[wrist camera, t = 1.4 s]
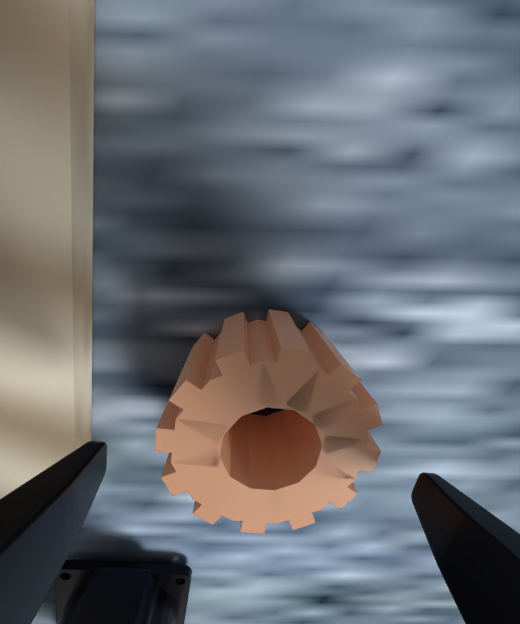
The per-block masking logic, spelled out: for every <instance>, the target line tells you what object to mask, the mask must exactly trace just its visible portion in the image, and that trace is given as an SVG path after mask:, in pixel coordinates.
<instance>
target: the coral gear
mask: <svg viewBox="0 0 520 624" xmlns="http://www.w3.org/2000/svg"><path fill="white" fill-rule="evenodd" d="M360 380H361V379H360V378H359V376H358V375H357V374H356V373H355V372H354V370H353V369H352V368H351V367H350V365H349V364H348V363H347V362H346V360H345V359H344V358H343V357H342V355H341V354H340V353H339V352H338V350H337V349H336V348H335V347H334V345H333V344H332V343H331V342H330V340H329V339H328V338H327V337H326V336H325V334H324V333H323V332H322V331H320V330H319V329H318V328H317V327H315V326H314V325H313V324H312V323H311V322H309V323H308V324H307V325H306V326H305V328H304V329H303V330H302V331H301V330H300V329H299V328H297V327H296V325H295V323H294V321H293V320H292V318H291V316H290V314H289V313H288V312H284V311H278V310H271V309H268V314H267V319H266V321H263V320H254V321H251V322H249V323H248V322H247V319H246V316H245V314H244V311H243V312H241V313H238V314H235V315H232V316H230V317H227V318H224V323H223V328H222V332H221V333H220V334H219V335H218V336H217V337H216V338H215V339H213V338H212V337H210V336H209V335H208V334H206V333H205V332H204V333H203V335H202V336H201V337H200V338H199V339H198V341H197V342H196V343H195V344H194V345H193V347H192V349H191V351H190V353H189V356H188V358H187V360H186V362H185V365H184V367H183V369H182V371H181V374H180V376H179V378H178V380H177V383H176V385H175V387H174V389H173V392H172V394H171V396H170V399H169V401H168V404H167V406H166V408H165V410H164V413H163V415H162V417H161V419H160V422H159V424H158V426H157V429H156V441H155V451H160V452H169V455H168V458H167V461H166V464H165V467H164V470H163V473H162V476H161V478H162V480H163V481H164V483H165V484H166V486H167V488H168V489H169V491H170V493H171V494H172V496H173V495H176V494H179V493H182V492H185V491H188V492H189V494H190V496H191V498H192V499H193V500H195V504H194V510H193V514H194V515H195V516H197V517H199V518H201V519H203V520H205V521H207V522H209V523H211V524H214V523H215V522H216V521H217V520H218V519H219V518H220V517H221V516H222V515H223V516H224V517H226V518H228V519H230V520H234V521H241V528H240V532H246V533H262V534H264V532H265V528H266V524H267V523H281V522H284V521H287V520H289V522H290V524H291V527H292V529H293V530H294V529H297V528H301V527H304V526H307V525H310V524H313V523H315V519H314V515H313V512H315V511H318V510H321V509H323V508H324V507H325V506H326V505H327V504H328V503H329V502H331V503H332V504H334V505H335V506H337V507H339V508H340V509H341V508H342V507H343V506H344V505H345V504H346V503H348V502H349V501H350V500H351V499H352V498H353V497H354V496H356V495H357V491H356V489H355V487H354V485H353V481H354V480H355V479H356V476H357V473H358V471H359V470H362V471H372V472H373V471H374V469H375V466H376V463H377V461H378V458H379V455H380V453H381V451H380V449H379V448H378V446H377V444H376V443H375V441H374V440H373V438H372V436H371V435H370V433H369V432H368V430H369V429H372V428H375V427H378V426H381V425H382V421H381V417H380V414H379V410H378V406H377V403H376V402H375V401H374V399H373V398H372V397H371V396H370V394H369V393H368V392H367V390H366V389H365V388H364V387H363V385H362V384H361V383H360V382H359V381H360ZM267 407H269V408H278V409H283V410H281V411H278V412H275V413H272V414H270V415H267V416H263V415H254V414H250V413H253V412H256V411H258V410H261V409H264V408H267Z"/></svg>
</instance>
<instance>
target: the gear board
mask: <svg viewBox="0 0 520 624" xmlns="http://www.w3.org/2000/svg"><path fill="white" fill-rule="evenodd" d="M94 29H95V0H0V499H1V498H3V497H4V496H6V495H7V494H9V493H10V492H12V491H13V490H15V489H16V488H18V487H19V486H21V485H22V484H24V483H25V482H27V481H29V480H30V479H32V478H33V477H35V476H36V475H38V474H39V473H41V472H42V471H44V470H45V469H47V468H48V467H50V466H51V465H53V464H55V463H56V462H58V461H59V460H61V459H62V458H64V457H65V456H67V455H68V454H70V453H71V452H73V451H74V450H76V449H77V448H79V447H80V446H82V445H84V444H85V443H87V442H89V441H91V420H92V290H93V159H94Z"/></svg>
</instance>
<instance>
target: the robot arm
mask: <svg viewBox="0 0 520 624" xmlns="http://www.w3.org/2000/svg"><path fill="white" fill-rule="evenodd" d="M106 462H107V445H106V443H105V442H99V441H89V442H87V443H85V444H84V445H82V446H80V447H79V448H77V449H76V450H74V451H73V452H71V453H70V454H68V455H67V456H65V457H64V458H62V459H61V460H59V461H58V462H56V463H55V464H53V465H51V466H50V467H48V468H47V469H45V470H44V471H42V472H41V473H39V474H38V475H36V476H35V477H33V478H32V479H30V480H29V481H27V482H25V483H24V484H22V485H21V486H19V487H18V488H16V489H15V490H13V491H12V492H10V493H9V494H7V495H6V496H4V497H3V498H1V499H0V624H31V623H32V621H33V619H34V617H35V615H36V614H37V612H38V610H39V608H40V606H41V604H42V603H43V601H44V599H45V597H46V595H47V593H48V592H49V590H50V588H51V586H52V584H53V582H54V581H55V595H56V617H57V624H184V619H185V613H186V607H187V601H188V594H189V588H190V582H191V575H192V570H191V568H190V567H188V566H185V565H170V564H150V563H129V562H109V561H89V560H66V559H67V557H68V555H69V553H70V551H71V549H72V547H73V545H74V543H75V541H76V538H77V536H78V534H79V532H80V530H81V527H82V525H83V523H84V521H85V518H86V516H87V514H88V511H89V509H90V507H91V505H92V502H93V500H94V498H95V495H96V493H97V491H98V489H99V486H100V484H101V482H102V480H103V477H104V475H105V471H106ZM411 496H412V502H413V505H414V507H415V510H416V512H417V515H418V517H419V520H420V522H421V525H422V528H423V530H424V533H425V535H426V538H427V540H428V543H429V545H430V548H431V550H432V553H433V555H434V558H435V560H436V562H437V565H438V567H439V569H440V571H441V574H442V576H443V578H444V580H445V582H446V584H447V586H448V588H449V590H450V592H451V595H452V597H453V599H454V601H455V603H456V605H457V607H458V609H459V611H460V613H461V615H462V617H463V620H464V622H465V624H520V534H519V533H517V532H516V531H515V530H513V529H512V528H511V527H509V526H508V525H506V524H505V523H504V522H502V521H501V520H499V519H498V518H497V517H495V516H494V515H493V514H491V513H490V512H488V511H487V510H486V509H484V508H483V507H481V506H480V505H479V504H477V503H476V502H474V501H473V500H472V499H470V498H469V497H468V496H466V495H465V494H463V493H462V492H461V491H459V490H458V489H456V488H455V487H454V486H452V485H451V484H450V483H448V482H447V481H445V480H444V479H443V478H441V477H440V476H438V475H437V474H434V473H421V474H420V475H419V477H418V479H417V481H416V484H415V486H414V488H413V491H412V495H411Z"/></svg>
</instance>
